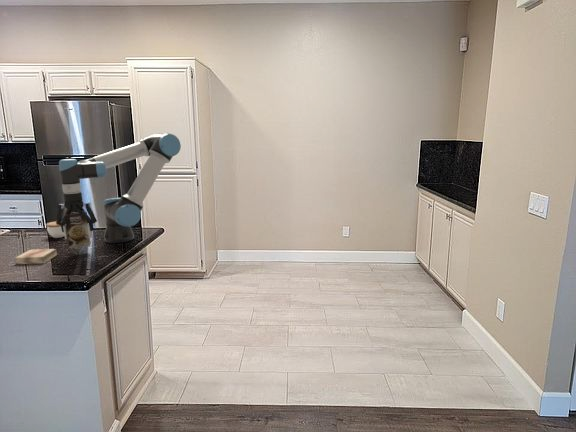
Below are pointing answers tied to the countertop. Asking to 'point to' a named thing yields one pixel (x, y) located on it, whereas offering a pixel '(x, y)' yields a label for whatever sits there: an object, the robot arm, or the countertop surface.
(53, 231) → the lidded jar
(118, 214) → the robot arm
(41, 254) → the base block
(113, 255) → the countertop surface
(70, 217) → the coffee box
